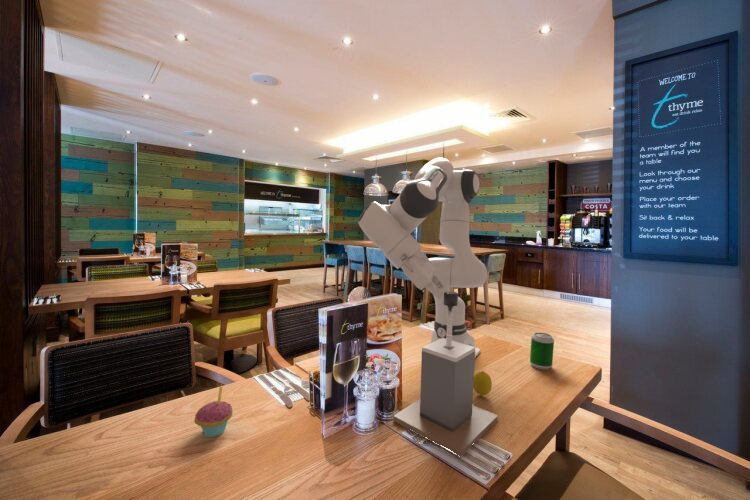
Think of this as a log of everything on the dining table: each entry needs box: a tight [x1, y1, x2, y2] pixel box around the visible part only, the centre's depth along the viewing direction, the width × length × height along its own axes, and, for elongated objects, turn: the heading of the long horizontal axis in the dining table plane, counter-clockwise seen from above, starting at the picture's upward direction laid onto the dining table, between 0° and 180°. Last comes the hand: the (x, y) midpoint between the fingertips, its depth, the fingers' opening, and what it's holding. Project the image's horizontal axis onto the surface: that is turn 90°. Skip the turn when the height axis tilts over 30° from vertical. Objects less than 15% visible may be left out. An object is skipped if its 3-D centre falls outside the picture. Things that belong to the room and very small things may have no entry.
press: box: [392, 338, 499, 458], centre depth 91 cm, size 20×20×20 cm
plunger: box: [443, 291, 459, 350], centre depth 89 cm, size 8×8×24 cm
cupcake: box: [194, 383, 233, 438], centre depth 85 cm, size 9×8×12 cm
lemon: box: [473, 370, 493, 397], centre depth 104 cm, size 6×6×8 cm
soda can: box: [529, 332, 555, 371], centre depth 126 cm, size 8×8×12 cm
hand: (441, 292), depth 89 cm, fingers open, 8 cm apart
